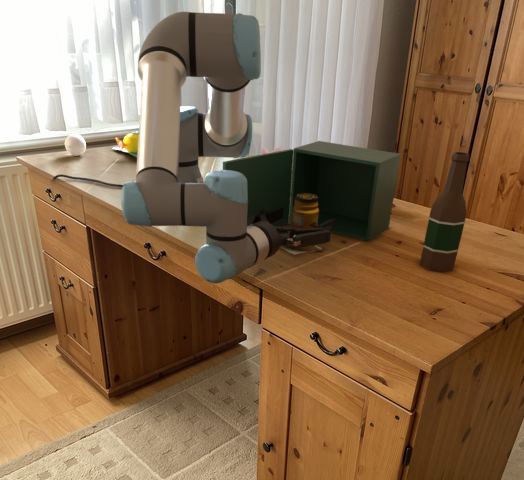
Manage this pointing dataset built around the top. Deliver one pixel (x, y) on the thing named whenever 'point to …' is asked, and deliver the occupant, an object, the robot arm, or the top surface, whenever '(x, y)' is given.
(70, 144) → the white egg
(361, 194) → the green open cabinet
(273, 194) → the green cabinet door
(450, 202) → the beer bottle
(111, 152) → the top surface
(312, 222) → the condiment
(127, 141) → the yellow and blue toy
